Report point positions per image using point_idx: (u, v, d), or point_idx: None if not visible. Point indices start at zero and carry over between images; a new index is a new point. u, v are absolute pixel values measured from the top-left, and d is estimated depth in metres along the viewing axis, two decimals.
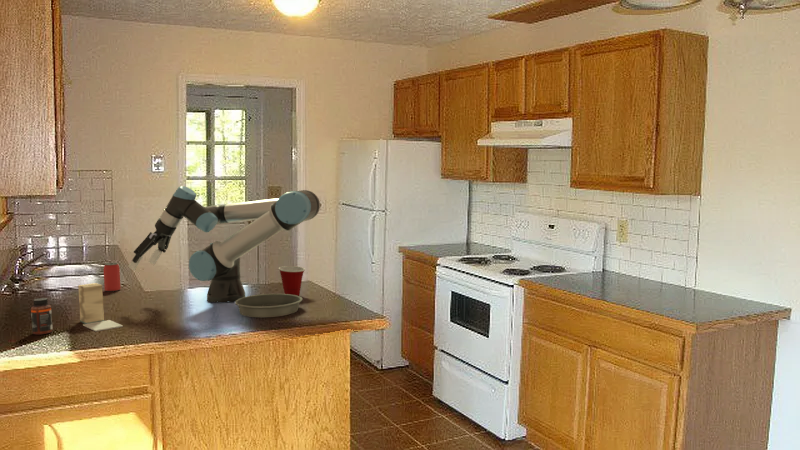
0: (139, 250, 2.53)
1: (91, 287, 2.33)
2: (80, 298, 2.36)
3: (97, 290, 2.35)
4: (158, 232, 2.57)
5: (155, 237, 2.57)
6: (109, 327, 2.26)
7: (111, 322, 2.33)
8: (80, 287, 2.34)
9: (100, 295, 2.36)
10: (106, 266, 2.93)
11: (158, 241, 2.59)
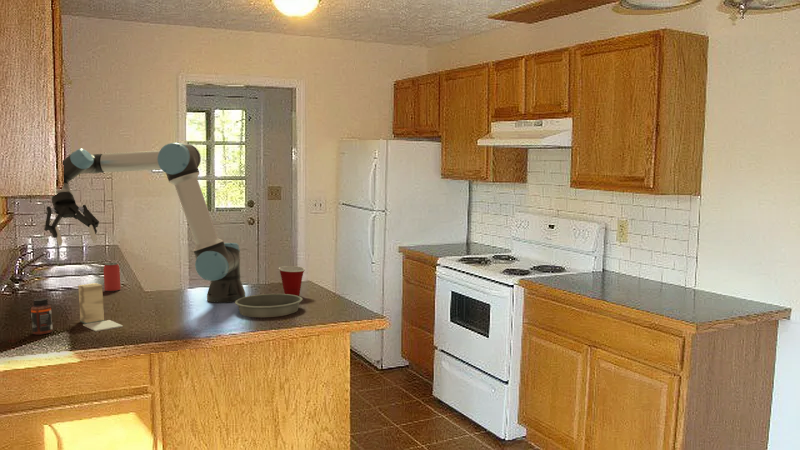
0: (45, 224, 2.40)
1: (91, 287, 2.33)
2: (80, 298, 2.36)
3: (97, 290, 2.35)
4: (54, 205, 2.47)
5: (54, 209, 2.46)
6: (109, 327, 2.26)
7: (111, 322, 2.33)
8: (80, 287, 2.34)
9: (100, 295, 2.36)
10: (106, 266, 2.93)
11: (62, 210, 2.46)
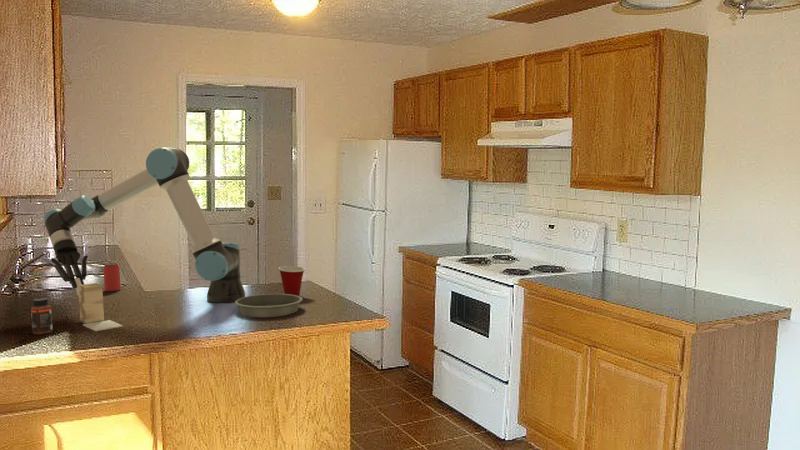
0: (63, 276, 2.44)
1: (91, 287, 2.33)
2: (80, 298, 2.36)
3: (97, 290, 2.35)
4: (56, 253, 2.49)
5: (56, 257, 2.47)
6: (109, 327, 2.26)
7: (111, 322, 2.33)
8: (80, 287, 2.34)
9: (100, 295, 2.36)
10: (106, 266, 2.93)
11: (67, 258, 2.48)
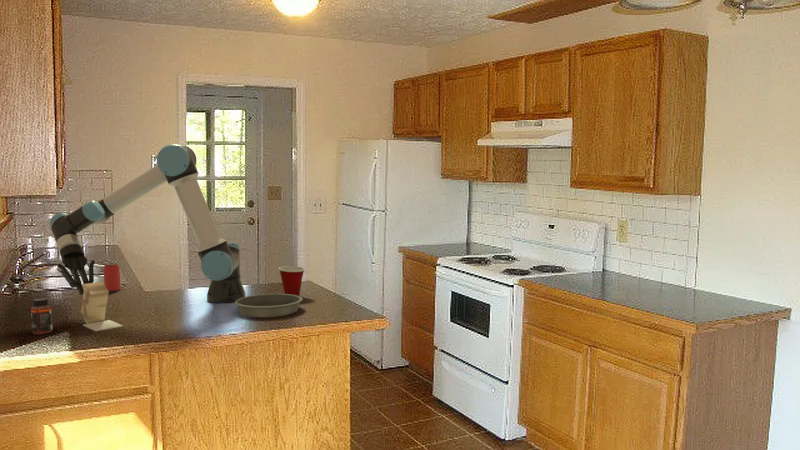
0: (69, 281, 2.38)
1: (97, 293, 2.29)
2: (84, 296, 2.32)
3: (103, 296, 2.31)
4: (62, 258, 2.42)
5: (63, 263, 2.41)
6: (109, 327, 2.26)
7: (111, 322, 2.33)
8: (86, 288, 2.30)
9: (105, 300, 2.32)
10: (106, 266, 2.93)
11: (73, 264, 2.42)
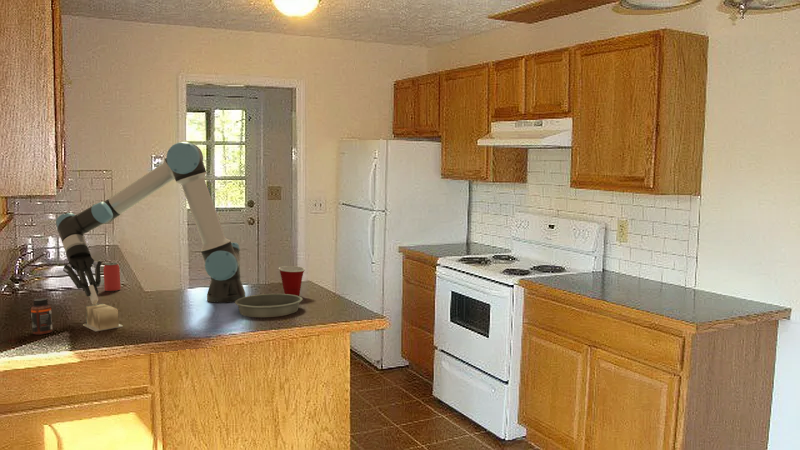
0: (76, 282, 2.34)
1: None
2: (94, 313, 2.26)
3: None
4: (69, 259, 2.38)
5: (69, 263, 2.37)
6: None
7: None
8: (99, 318, 2.23)
9: None
10: (106, 266, 2.93)
11: (80, 264, 2.38)
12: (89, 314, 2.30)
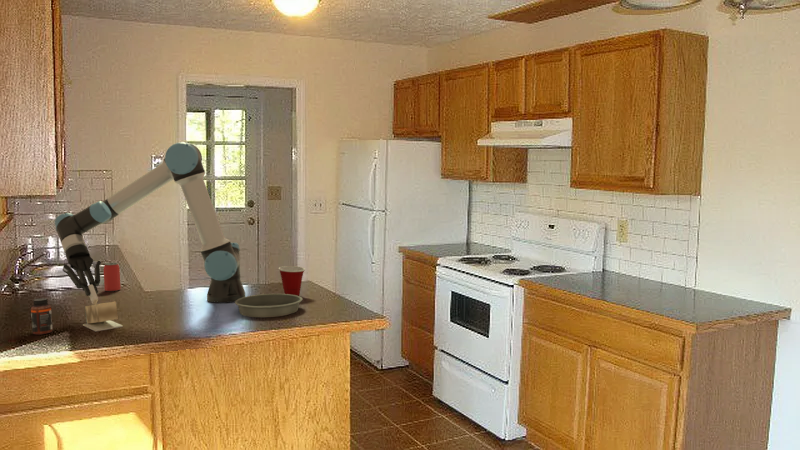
0: (76, 282, 2.34)
1: (106, 320, 2.25)
2: (93, 308, 2.26)
3: None
4: (68, 259, 2.39)
5: (69, 263, 2.38)
6: (109, 327, 2.26)
7: (111, 322, 2.33)
8: (97, 310, 2.24)
9: None
10: (106, 266, 2.93)
11: (79, 264, 2.38)
12: (88, 312, 2.30)
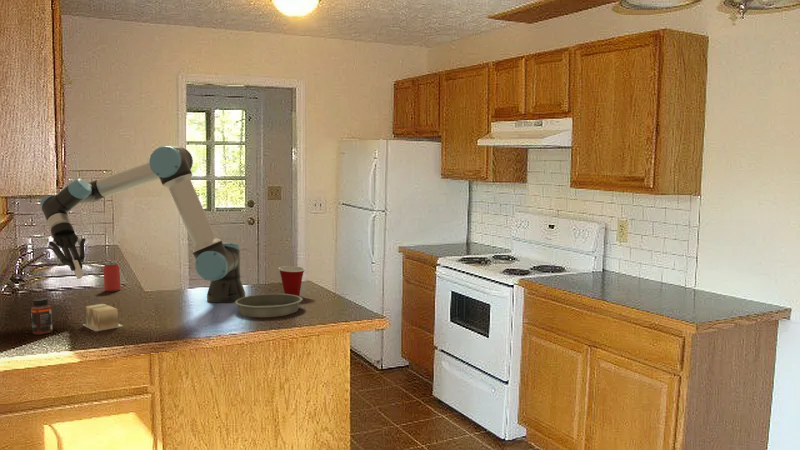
0: (61, 258, 2.43)
1: None
2: (94, 313, 2.26)
3: None
4: (53, 236, 2.48)
5: (54, 240, 2.47)
6: None
7: None
8: (98, 318, 2.23)
9: None
10: (106, 266, 2.93)
11: (64, 241, 2.47)
12: (89, 314, 2.30)
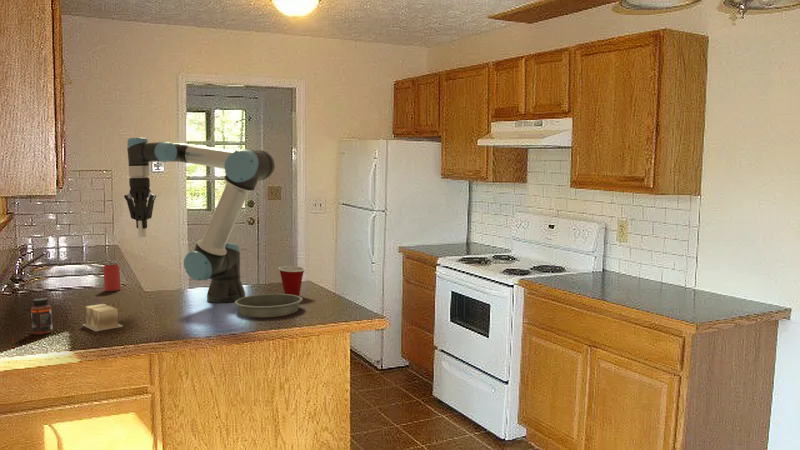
0: None
1: None
2: (94, 313, 2.26)
3: None
4: None
5: (129, 193, 2.66)
6: None
7: None
8: (98, 318, 2.23)
9: None
10: (106, 266, 2.93)
11: (135, 198, 2.64)
12: (89, 314, 2.30)
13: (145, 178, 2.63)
